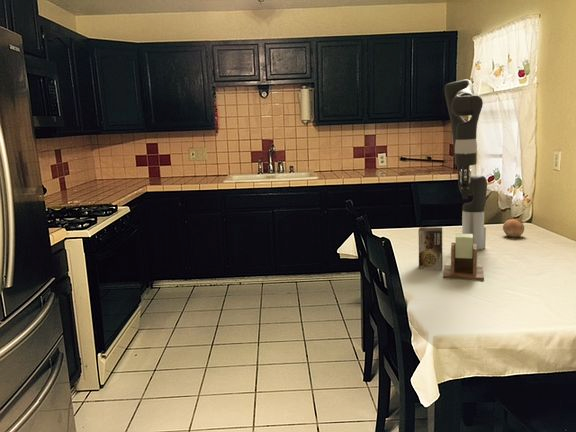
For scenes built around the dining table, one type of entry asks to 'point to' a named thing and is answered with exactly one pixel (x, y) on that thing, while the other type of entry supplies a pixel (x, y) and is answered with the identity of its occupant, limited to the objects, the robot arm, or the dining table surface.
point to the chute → (463, 267)
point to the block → (464, 246)
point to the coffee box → (430, 248)
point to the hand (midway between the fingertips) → (464, 198)
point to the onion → (513, 228)
